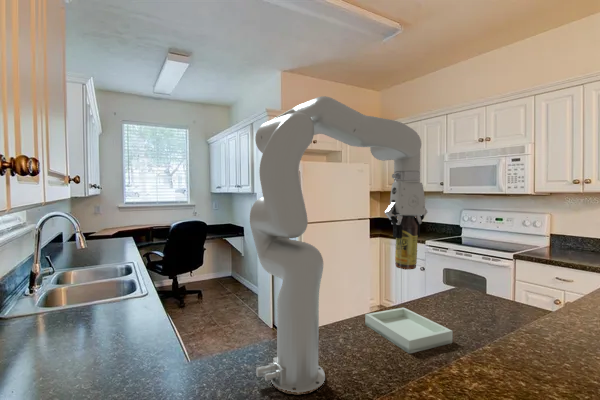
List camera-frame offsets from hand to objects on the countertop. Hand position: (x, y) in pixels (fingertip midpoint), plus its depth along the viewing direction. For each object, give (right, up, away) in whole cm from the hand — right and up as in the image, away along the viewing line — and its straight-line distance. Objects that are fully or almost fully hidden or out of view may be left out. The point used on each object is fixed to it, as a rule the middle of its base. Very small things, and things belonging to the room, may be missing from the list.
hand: (406, 236), depth 95 cm
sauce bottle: (0, -10, 0) cm, 10 cm away
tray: (0, -30, +1) cm, 30 cm away
